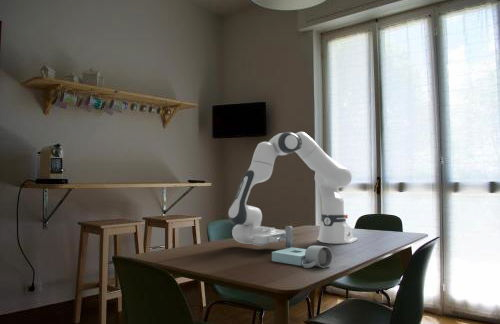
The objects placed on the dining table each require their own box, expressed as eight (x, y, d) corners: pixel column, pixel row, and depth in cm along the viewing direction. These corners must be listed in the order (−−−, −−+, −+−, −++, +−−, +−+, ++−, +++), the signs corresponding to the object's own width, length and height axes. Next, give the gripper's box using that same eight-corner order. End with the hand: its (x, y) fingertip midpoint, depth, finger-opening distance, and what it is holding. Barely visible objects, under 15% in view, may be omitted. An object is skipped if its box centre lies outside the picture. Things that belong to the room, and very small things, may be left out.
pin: (288, 253, 170) (288, 225, 170) (294, 254, 168) (293, 226, 168) (284, 254, 168) (284, 226, 168) (290, 255, 166) (289, 226, 166)
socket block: (292, 255, 164) (292, 247, 164) (320, 259, 155) (320, 251, 155) (271, 260, 154) (271, 252, 154) (301, 265, 144) (301, 256, 145)
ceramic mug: (317, 262, 150) (317, 242, 150) (333, 266, 143) (332, 245, 143) (296, 266, 144) (296, 245, 145) (311, 270, 137) (311, 248, 138)
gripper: (245, 231, 171) (270, 234, 162) (274, 227, 186) (298, 229, 177) (246, 245, 171) (270, 249, 162) (274, 240, 186) (298, 243, 177)
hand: (285, 238), depth 169 cm, fingers open, 8 cm apart
